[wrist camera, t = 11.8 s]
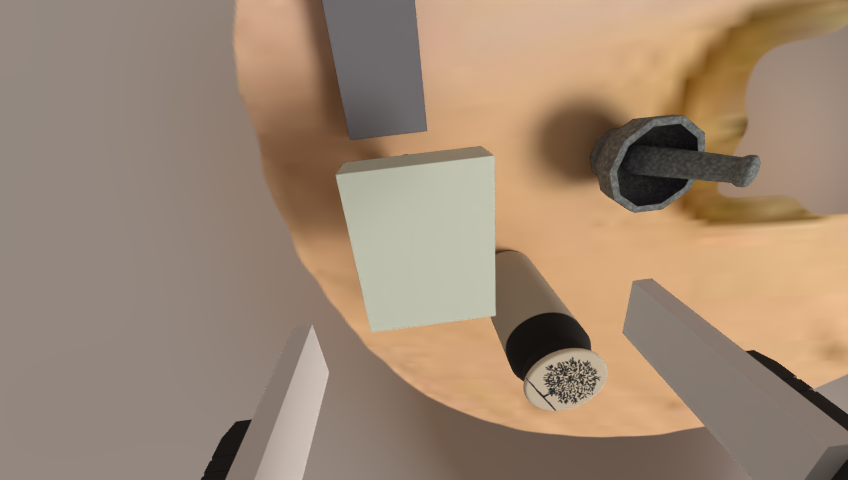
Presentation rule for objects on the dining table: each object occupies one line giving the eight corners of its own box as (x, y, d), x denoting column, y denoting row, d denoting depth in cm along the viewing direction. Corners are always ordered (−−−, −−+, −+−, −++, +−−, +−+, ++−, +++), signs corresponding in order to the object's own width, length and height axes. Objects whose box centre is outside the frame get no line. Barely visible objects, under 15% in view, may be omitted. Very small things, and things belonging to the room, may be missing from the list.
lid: (480, 146, 26) (494, 155, 22) (484, 290, 32) (495, 315, 28) (344, 162, 26) (335, 174, 22) (374, 304, 32) (371, 332, 28)
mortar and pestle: (570, 196, 40) (635, 236, 29) (579, 117, 36) (657, 129, 25) (658, 186, 40) (753, 222, 30) (676, 106, 36) (794, 114, 26)
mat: (402, -108, 27) (402, -126, 25) (425, 128, 35) (427, 131, 33) (307, -99, 27) (299, -115, 25) (352, 136, 35) (349, 140, 33)
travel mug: (520, 239, 42) (597, 334, 26) (541, 282, 45) (620, 391, 29) (466, 267, 43) (508, 374, 27) (490, 307, 47) (540, 424, 30)
